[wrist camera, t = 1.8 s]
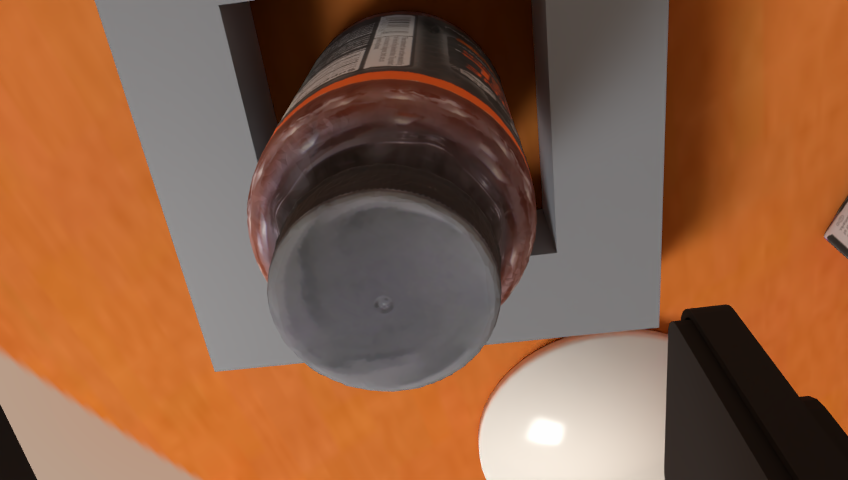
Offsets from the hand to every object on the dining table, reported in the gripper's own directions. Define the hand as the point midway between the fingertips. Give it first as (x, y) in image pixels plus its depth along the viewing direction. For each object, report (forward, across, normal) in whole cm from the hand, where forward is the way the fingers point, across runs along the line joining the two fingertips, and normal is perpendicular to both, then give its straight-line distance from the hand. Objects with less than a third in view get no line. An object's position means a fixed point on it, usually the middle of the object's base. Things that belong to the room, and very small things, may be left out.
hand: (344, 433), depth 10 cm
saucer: (+14, -7, +13) cm, 20 cm away
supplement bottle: (+14, -1, -1) cm, 14 cm away
